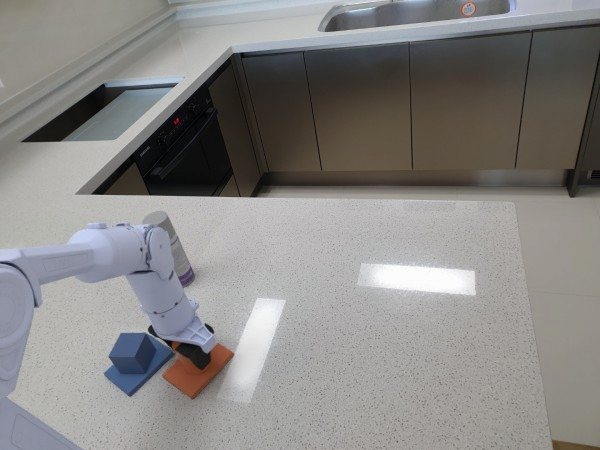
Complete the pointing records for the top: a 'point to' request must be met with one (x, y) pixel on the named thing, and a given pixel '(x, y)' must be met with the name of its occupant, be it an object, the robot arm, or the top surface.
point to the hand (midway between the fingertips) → (194, 357)
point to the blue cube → (132, 353)
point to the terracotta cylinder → (187, 362)
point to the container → (173, 247)
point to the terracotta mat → (197, 382)
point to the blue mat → (135, 381)
